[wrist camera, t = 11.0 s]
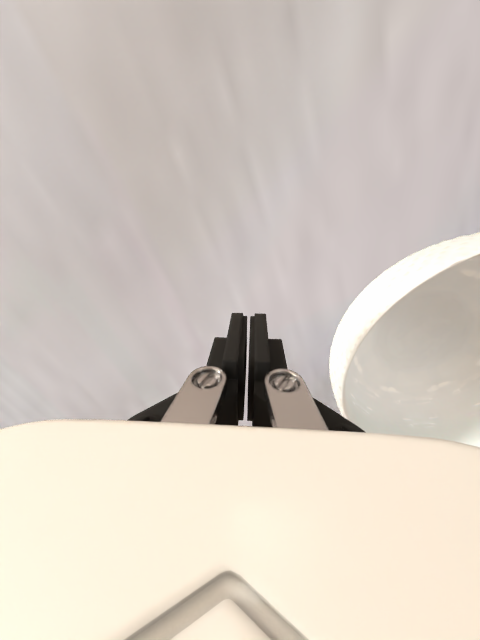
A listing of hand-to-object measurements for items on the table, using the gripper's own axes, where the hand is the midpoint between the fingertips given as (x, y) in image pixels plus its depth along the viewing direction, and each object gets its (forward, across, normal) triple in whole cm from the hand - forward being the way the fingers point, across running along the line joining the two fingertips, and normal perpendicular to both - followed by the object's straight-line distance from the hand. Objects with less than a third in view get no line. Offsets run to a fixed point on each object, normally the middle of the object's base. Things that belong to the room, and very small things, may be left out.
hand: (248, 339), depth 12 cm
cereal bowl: (+8, -14, +3) cm, 17 cm away
